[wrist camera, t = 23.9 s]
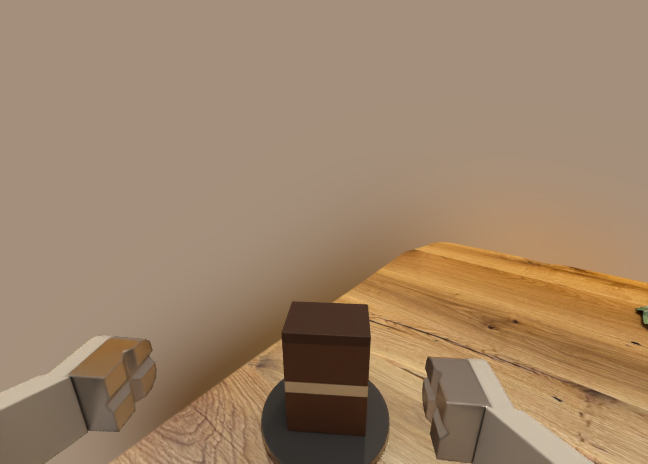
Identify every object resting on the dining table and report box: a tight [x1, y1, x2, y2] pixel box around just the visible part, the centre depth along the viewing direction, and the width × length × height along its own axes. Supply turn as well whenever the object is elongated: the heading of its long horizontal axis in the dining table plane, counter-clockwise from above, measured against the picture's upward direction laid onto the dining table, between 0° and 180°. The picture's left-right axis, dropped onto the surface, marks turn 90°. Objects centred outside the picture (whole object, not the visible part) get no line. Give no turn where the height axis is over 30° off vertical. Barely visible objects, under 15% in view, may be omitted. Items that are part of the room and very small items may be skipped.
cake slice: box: [282, 301, 371, 436], centre depth 24 cm, size 4×6×9 cm, turn 85°
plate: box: [261, 379, 389, 464], centre depth 26 cm, size 10×10×1 cm
